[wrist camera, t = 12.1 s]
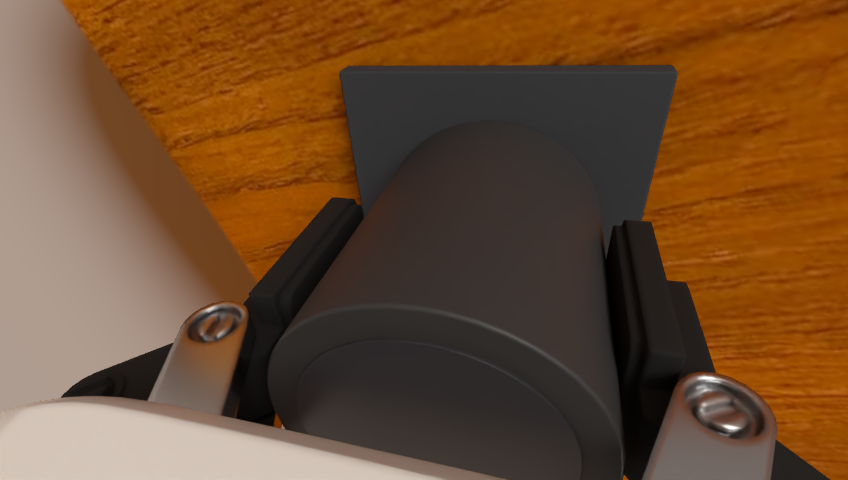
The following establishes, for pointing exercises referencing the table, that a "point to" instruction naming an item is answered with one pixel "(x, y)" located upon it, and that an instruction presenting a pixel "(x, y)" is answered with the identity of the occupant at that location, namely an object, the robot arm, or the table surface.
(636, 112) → the pad
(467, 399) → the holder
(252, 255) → the table surface
